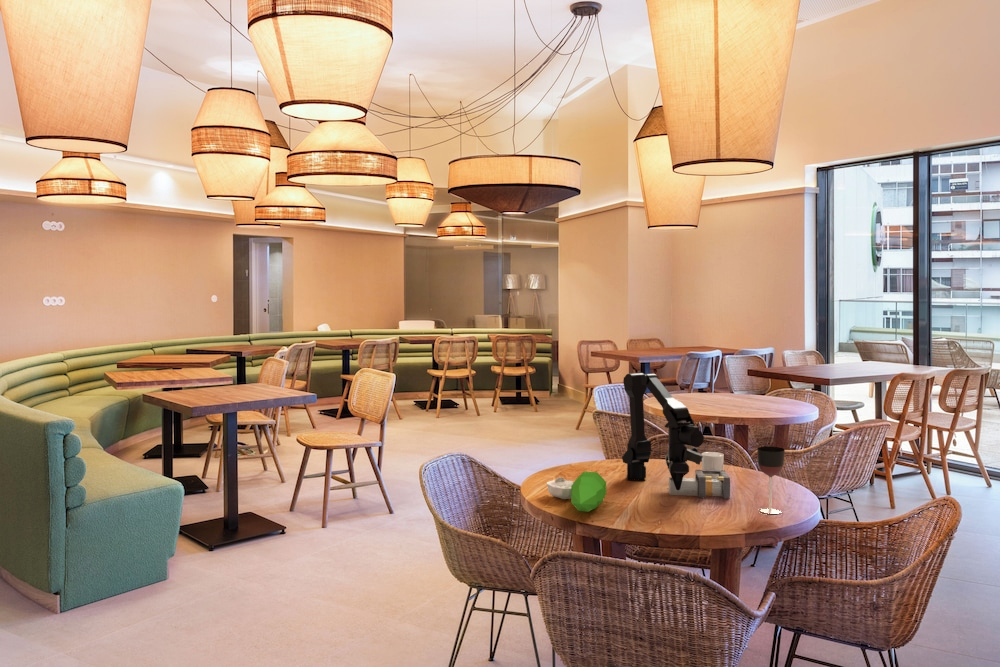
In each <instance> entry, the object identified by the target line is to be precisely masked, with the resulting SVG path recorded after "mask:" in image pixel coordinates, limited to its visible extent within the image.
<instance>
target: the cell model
mask: <svg viewBox="0 0 1000 667" xmlns="http://www.w3.org/2000/svg"><path fill="white" fill-rule="evenodd" d="M573 482H574V481H573V480H569V479H565V478H564V477H561V476H558V477H557V478H555V479H554V480H553V479H552V480H550V481H547V482H546V486H547V491H548V493H549V494H550V495H551V496H553V497H555V498H559V499H561V500H567V499H569V500H570V499H571V485H572V484H573Z"/></svg>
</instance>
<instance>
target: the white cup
mask: <svg viewBox="0 0 1000 667" xmlns="http://www.w3.org/2000/svg"><path fill="white" fill-rule="evenodd" d="M701 454H702V456H703V457H702V460H701V467H702V469H701V470H724V458H725V457H724V456H725V454H724V453H722V452H717V451H715V452H714V451H704V452H702V453H701ZM704 475H705V476H711V477H712V479H717V476H719V474H704Z"/></svg>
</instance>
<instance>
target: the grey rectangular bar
mask: <svg viewBox="0 0 1000 667" xmlns="http://www.w3.org/2000/svg"><path fill="white" fill-rule="evenodd" d="M668 493H669V496H694V497H695V496H696V497H697V496H698V497H699V478H695V477H683V480H682V483H681V487H680V490H676V487H675V484H674V482H673V479H672V477H671V476H670V477H668ZM705 497H723V480H717V479H712V480H706V492H705Z"/></svg>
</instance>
